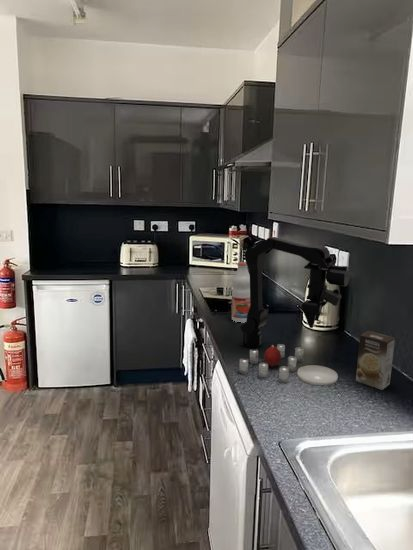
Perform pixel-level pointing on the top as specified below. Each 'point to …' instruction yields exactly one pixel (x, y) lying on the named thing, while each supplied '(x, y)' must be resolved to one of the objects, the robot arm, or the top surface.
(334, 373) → the plate
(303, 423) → the top surface
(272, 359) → the onion
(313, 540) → the top surface
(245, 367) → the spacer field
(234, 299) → the fruit juice
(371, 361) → the coffee box
